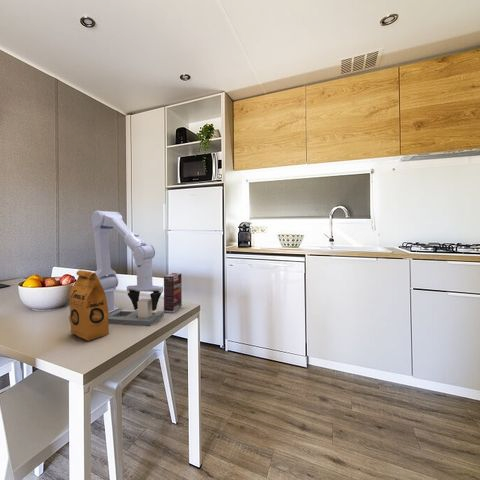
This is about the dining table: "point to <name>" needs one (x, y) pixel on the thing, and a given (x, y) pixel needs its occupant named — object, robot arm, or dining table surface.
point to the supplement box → (172, 292)
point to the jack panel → (133, 317)
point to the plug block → (145, 308)
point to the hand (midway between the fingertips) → (145, 309)
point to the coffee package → (88, 307)
